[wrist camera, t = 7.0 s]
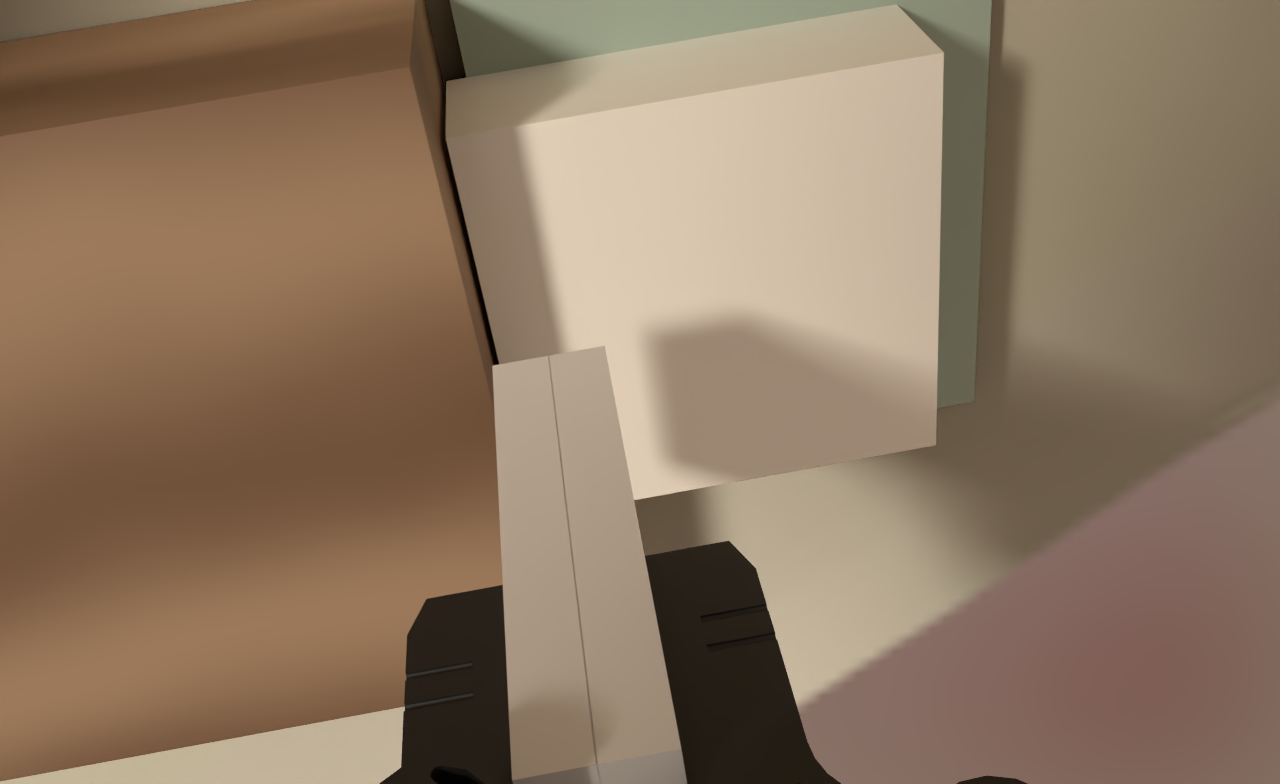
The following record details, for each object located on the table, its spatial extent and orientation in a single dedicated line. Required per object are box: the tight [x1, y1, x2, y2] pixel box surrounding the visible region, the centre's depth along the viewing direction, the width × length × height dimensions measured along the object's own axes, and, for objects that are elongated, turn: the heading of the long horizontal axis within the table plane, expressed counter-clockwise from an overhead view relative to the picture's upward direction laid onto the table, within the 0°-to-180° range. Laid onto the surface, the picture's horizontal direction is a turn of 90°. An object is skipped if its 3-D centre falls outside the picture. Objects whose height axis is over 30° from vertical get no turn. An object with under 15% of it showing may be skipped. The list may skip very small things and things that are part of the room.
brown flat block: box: [0, 0, 503, 781], centre depth 19 cm, size 11×10×4 cm
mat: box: [450, 0, 992, 408], centre depth 20 cm, size 10×8×1 cm
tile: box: [446, 4, 944, 500], centre depth 20 cm, size 7×7×2 cm
